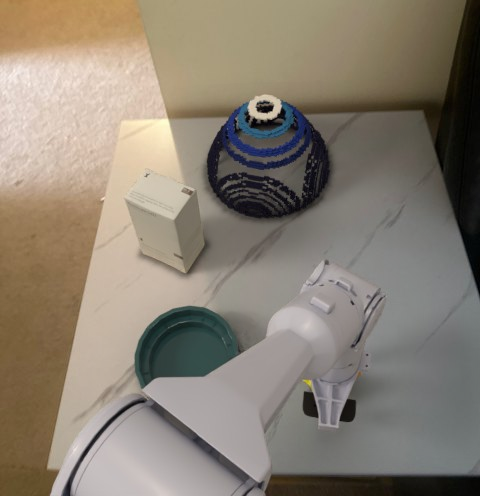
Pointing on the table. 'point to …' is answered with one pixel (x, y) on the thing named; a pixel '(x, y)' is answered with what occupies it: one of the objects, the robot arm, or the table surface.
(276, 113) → the decorative bowl
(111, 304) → the table surface
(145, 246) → the cosmetic box
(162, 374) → the glazed bowl
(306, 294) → the robot arm
